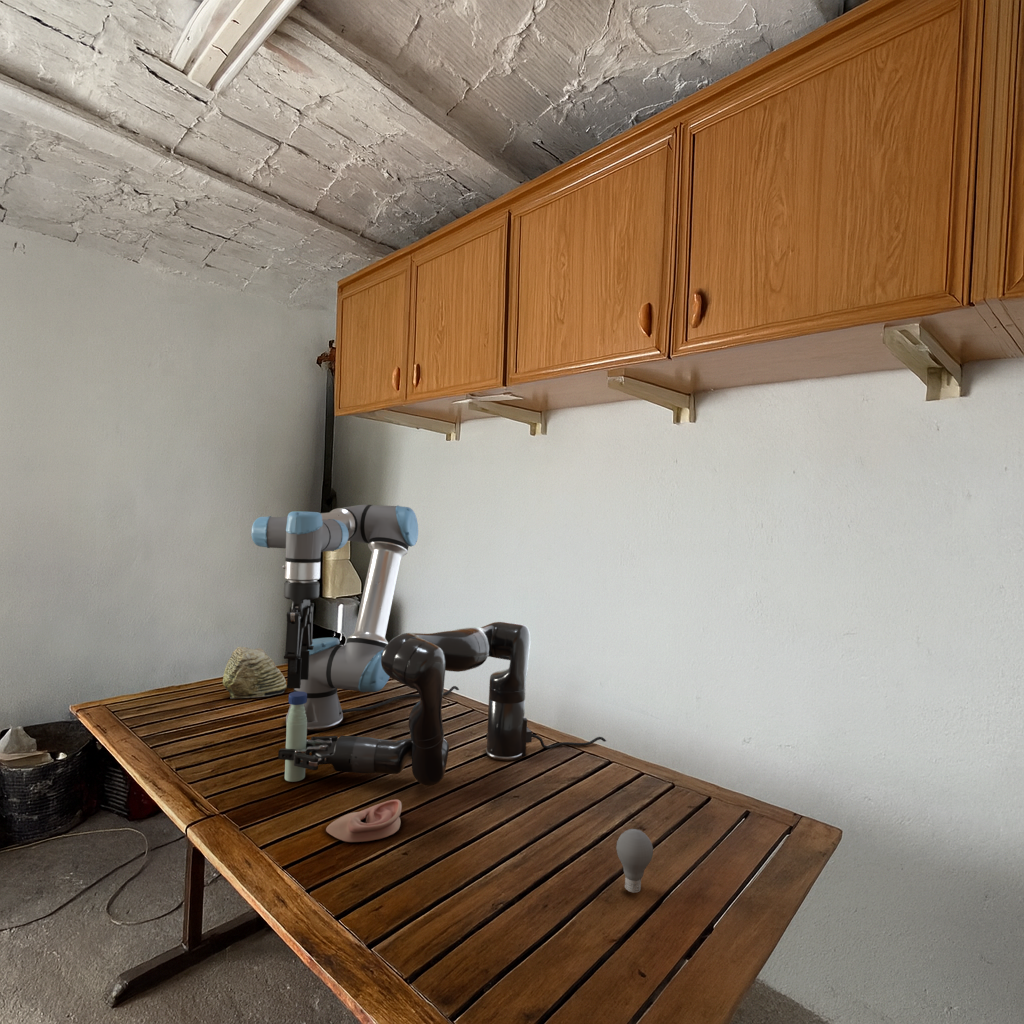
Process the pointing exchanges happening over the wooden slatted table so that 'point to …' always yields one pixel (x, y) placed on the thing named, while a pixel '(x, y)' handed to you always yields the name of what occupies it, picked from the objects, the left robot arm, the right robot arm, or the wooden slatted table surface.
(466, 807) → the wooden slatted table surface
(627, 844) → the light bulb
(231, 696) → the fossil
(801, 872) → the wooden slatted table surface
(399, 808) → the anatomical model
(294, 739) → the bottle
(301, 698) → the cap
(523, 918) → the wooden slatted table surface
